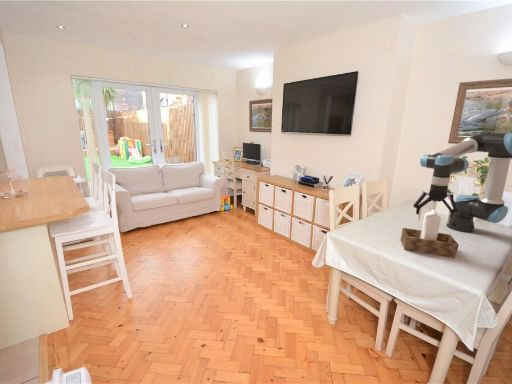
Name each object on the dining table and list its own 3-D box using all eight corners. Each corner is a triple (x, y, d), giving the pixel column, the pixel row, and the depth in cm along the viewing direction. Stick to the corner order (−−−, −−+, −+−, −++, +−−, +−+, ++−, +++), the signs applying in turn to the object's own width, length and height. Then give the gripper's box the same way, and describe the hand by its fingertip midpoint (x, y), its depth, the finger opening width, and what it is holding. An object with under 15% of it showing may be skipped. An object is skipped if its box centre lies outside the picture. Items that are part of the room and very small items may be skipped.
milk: (422, 248, 143) (429, 211, 137) (418, 243, 149) (425, 208, 143) (434, 249, 141) (442, 212, 136) (430, 245, 147) (438, 209, 141)
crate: (447, 247, 147) (450, 234, 145) (455, 258, 135) (458, 244, 133) (400, 239, 156) (402, 227, 154) (404, 249, 143) (406, 236, 141)
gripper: (465, 184, 134) (457, 222, 140) (411, 180, 143) (405, 216, 149) (471, 188, 128) (461, 227, 133) (414, 183, 136) (407, 220, 142)
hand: (432, 221), depth 141 cm, fingers open, 13 cm apart
